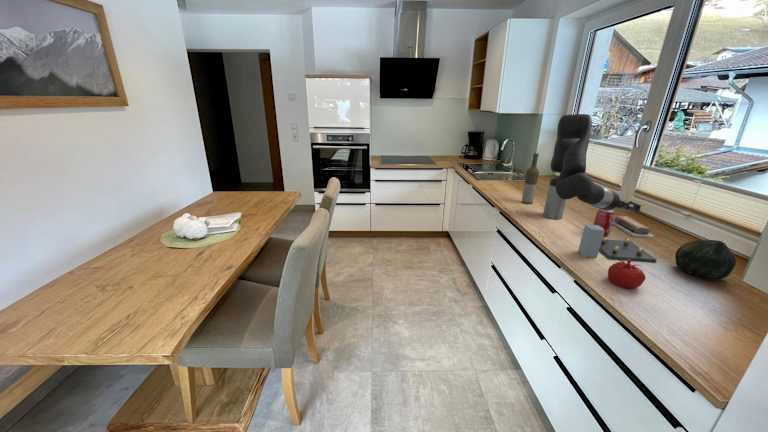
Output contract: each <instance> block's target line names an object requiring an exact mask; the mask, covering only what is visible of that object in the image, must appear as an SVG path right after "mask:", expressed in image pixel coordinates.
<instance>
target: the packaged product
mask: <svg viewBox="0 0 768 432" xmlns="http://www.w3.org/2000/svg"><path fill="white" fill-rule="evenodd" d="M612 226H614V227H615V228H617V229H619V230H621V231H622V232H623V233H625V234H627V235H629V236H630V237H633V238H649V239H654V238H655V237H656V236H655V235H653V234H651V233H650V232H651V229H650V228H649V227H647V226H646V225H643V224H642V223H640V222H639V221H636V220H635V219H633V218H631V217H630V216H627V215H625V216H624V215H615V218H614V221H613V225H612Z"/></svg>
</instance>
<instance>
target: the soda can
mask: <svg viewBox="0 0 768 432" xmlns="http://www.w3.org/2000/svg"><path fill="white" fill-rule="evenodd" d="M615 217H616V214H615V209H612V210H609V211H604V210H601V209H598V211H596V215H595V218H594V221H593V225H599V226H600V227H601V228H603V229H604V230H605V232H604V235H603V237H607V236H609V235H610V233H611V231H612V227H613V226H614V225H613V221H614V219H615Z"/></svg>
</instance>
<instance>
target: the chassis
mask: <svg viewBox="0 0 768 432" xmlns="http://www.w3.org/2000/svg"><path fill="white" fill-rule="evenodd" d="M599 251H600V252H601V253H602V254H603V255H604V256H605V257H606V258H607V259H610V260H618V261H619V260H621V261H627V259H630V260H631V262H632V261H633V262H646V263H647V262H648V263H657V261H658V260H657V259H656V258H655V257H653V256H652V255H651V254H649V253H648V252H647V251H645V249H644V248H642V247H640V246H638V245H637V244H635V243H634V242H633V241H632V240H631V239H630V238H625V239H624V240H620V239H619V240H618V239H608V237H607V236H603V238H602V242H601V245H600V249H599Z"/></svg>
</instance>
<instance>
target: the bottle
mask: <svg viewBox="0 0 768 432" xmlns="http://www.w3.org/2000/svg"><path fill="white" fill-rule="evenodd" d="M539 156H540V154H539V153H533V154H532V162H531V166H529V168H528V169H526V172H525V178H524V185H523V190H522V196H521V203H523V204H525V203H526V205H530V204H531V205H532V204H533V203H534V199H535V193H536V189H537V185H538V182H539V181H538V180H539V177H540V170H539V168H538V167H537V165H538V160H539Z"/></svg>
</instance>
